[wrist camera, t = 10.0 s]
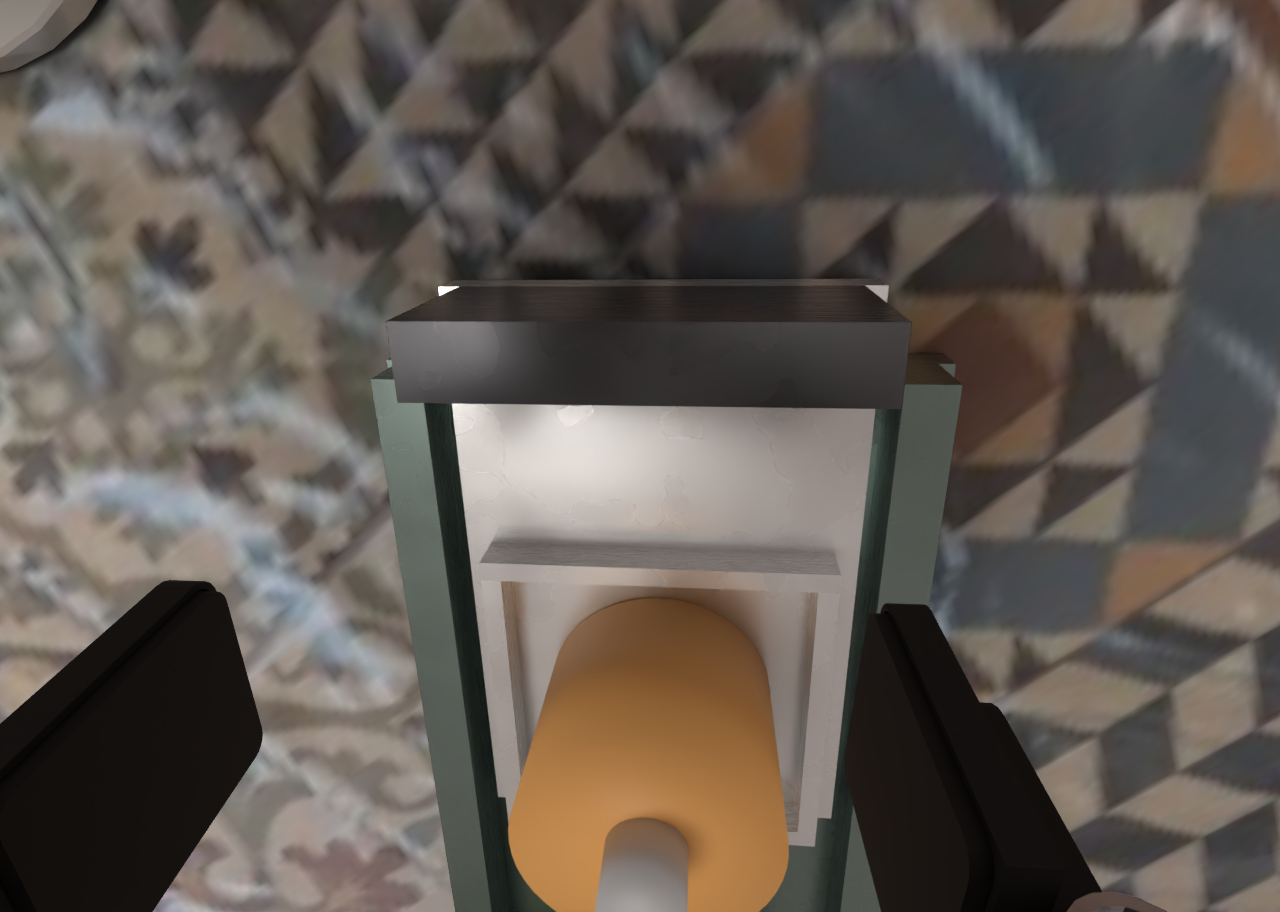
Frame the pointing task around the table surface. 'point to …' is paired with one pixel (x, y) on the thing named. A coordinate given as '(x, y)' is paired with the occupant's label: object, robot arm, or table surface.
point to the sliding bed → (664, 475)
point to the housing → (653, 769)
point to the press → (451, 654)
